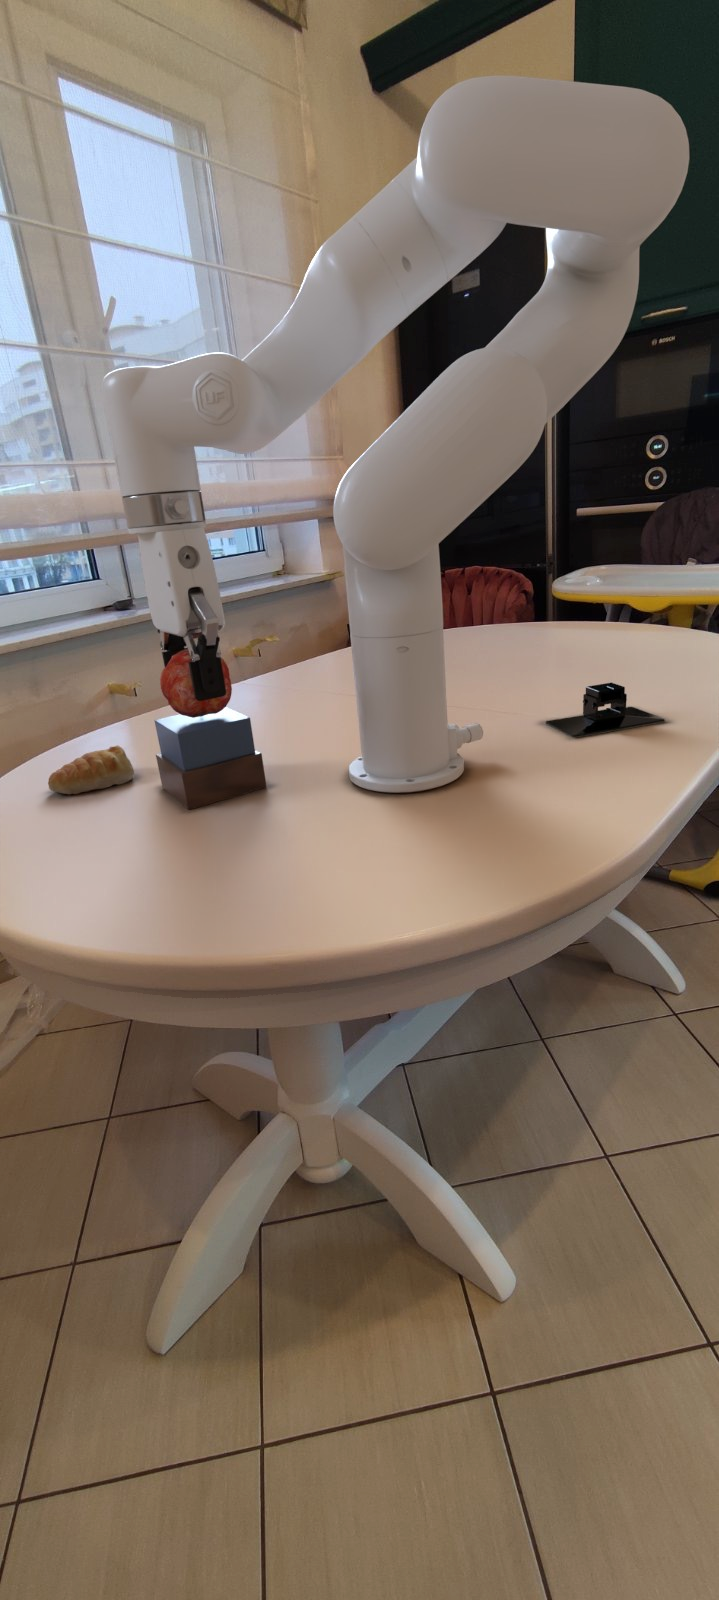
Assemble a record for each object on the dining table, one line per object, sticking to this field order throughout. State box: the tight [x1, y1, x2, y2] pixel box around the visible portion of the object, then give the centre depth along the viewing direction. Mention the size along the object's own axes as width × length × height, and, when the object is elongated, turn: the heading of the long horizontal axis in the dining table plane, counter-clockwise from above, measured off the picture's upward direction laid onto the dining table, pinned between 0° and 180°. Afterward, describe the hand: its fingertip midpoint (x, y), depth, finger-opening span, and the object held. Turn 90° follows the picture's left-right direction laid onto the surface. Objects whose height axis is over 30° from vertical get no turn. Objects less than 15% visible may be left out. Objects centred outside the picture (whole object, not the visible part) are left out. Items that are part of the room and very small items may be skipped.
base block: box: [155, 749, 267, 810], centre depth 80 cm, size 9×9×4 cm
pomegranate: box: [159, 649, 233, 718], centre depth 77 cm, size 7×7×10 cm
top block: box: [154, 706, 256, 771], centre depth 79 cm, size 8×8×4 cm
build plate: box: [545, 682, 666, 739], centre depth 89 cm, size 12×7×5 cm, turn 105°
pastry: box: [47, 745, 135, 796], centre depth 85 cm, size 9×7×4 cm
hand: (196, 690), depth 77 cm, fingers closed on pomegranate, 8 cm apart
